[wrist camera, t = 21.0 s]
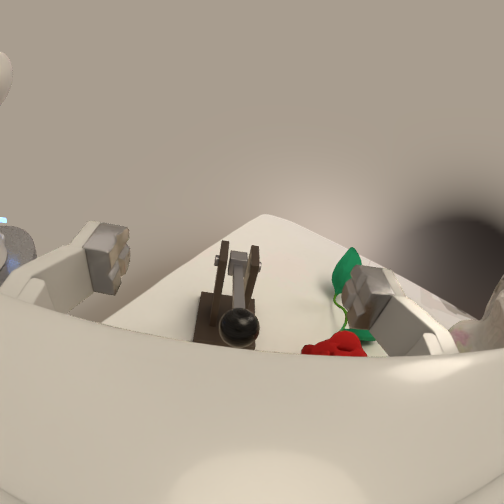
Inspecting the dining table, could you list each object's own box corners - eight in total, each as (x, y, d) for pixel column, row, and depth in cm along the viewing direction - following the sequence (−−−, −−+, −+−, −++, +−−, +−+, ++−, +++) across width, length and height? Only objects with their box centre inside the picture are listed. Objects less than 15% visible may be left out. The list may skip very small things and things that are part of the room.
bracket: (253, 351, 41) (277, 284, 33) (193, 343, 40) (199, 272, 32) (253, 303, 49) (272, 237, 42) (200, 296, 48) (209, 226, 41)
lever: (256, 358, 24) (265, 326, 23) (215, 353, 24) (220, 320, 23) (248, 273, 40) (253, 249, 39) (222, 269, 40) (226, 245, 38)
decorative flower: (387, 301, 57) (408, 266, 51) (367, 421, 34) (406, 389, 28) (330, 276, 60) (347, 238, 55) (282, 386, 37) (306, 347, 31)
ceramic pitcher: (400, 345, 48) (464, 236, 34) (470, 353, 46) (533, 262, 32) (411, 448, 31) (528, 347, 16) (490, 439, 29) (586, 350, 14)
